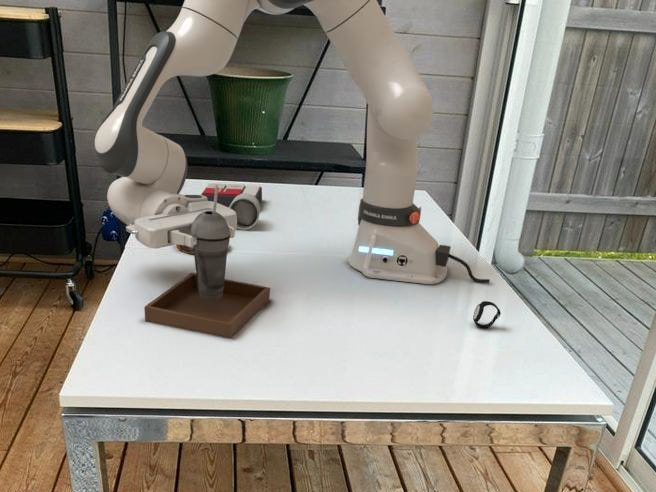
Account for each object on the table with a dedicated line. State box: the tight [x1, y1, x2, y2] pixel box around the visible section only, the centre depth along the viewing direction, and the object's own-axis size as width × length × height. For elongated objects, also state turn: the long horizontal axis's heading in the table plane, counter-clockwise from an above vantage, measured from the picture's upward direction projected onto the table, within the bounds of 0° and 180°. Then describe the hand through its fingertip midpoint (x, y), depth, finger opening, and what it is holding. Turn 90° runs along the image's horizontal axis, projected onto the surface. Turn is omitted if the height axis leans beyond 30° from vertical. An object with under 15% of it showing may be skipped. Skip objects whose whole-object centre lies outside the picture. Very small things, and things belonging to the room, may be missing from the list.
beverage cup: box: [190, 186, 231, 300], centre depth 139 cm, size 7×7×20 cm
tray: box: [144, 272, 271, 340], centre depth 145 cm, size 17×20×3 cm
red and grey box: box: [200, 182, 263, 208], centre depth 206 cm, size 11×4×15 cm
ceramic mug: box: [229, 193, 261, 231], centre depth 190 cm, size 11×8×8 cm
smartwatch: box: [472, 300, 502, 330], centre depth 148 cm, size 4×5×5 cm
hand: (213, 237), depth 138 cm, fingers closed on beverage cup, 7 cm apart
